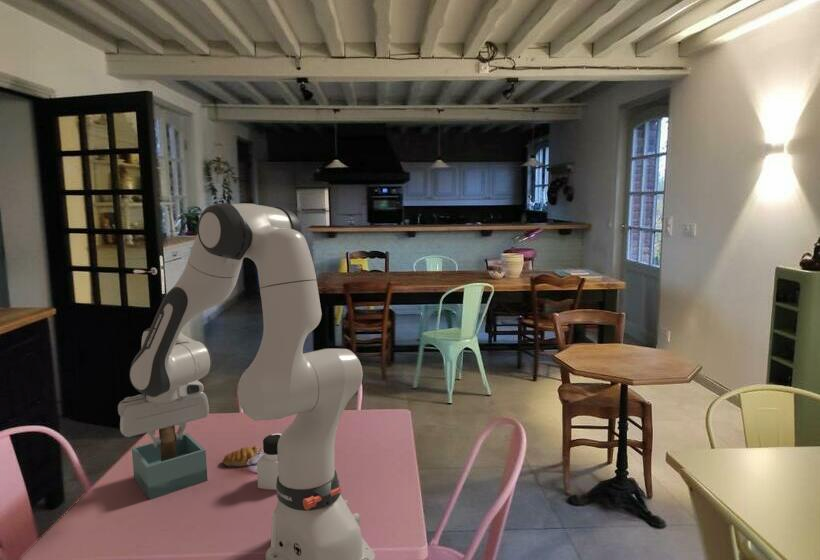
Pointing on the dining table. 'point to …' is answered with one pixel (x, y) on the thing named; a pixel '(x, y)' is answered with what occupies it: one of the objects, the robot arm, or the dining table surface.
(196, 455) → the box
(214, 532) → the dining table surface
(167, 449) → the peg
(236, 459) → the pastry
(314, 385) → the robot arm
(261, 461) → the medicine bottle
